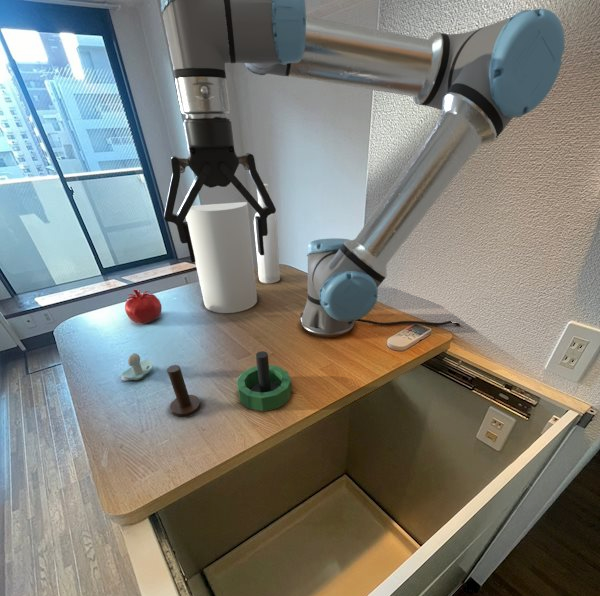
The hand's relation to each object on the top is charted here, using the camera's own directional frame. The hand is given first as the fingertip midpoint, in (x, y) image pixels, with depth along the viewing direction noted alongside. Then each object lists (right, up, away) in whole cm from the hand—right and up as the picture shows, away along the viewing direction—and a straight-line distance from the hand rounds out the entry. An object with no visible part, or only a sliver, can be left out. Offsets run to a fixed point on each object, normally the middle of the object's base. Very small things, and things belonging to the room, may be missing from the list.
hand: (228, 256), depth 66 cm
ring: (+7, -27, +6) cm, 29 cm away
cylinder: (-8, +4, +42) cm, 43 cm away
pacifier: (-24, -23, +12) cm, 35 cm away
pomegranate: (-32, -4, +34) cm, 47 cm away
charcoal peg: (+7, -27, +6) cm, 29 cm away
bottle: (+3, +16, +56) cm, 59 cm away
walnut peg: (-9, -30, +3) cm, 32 cm away
